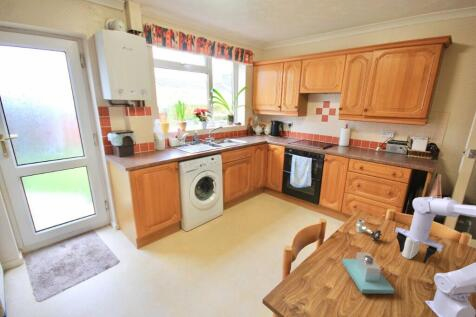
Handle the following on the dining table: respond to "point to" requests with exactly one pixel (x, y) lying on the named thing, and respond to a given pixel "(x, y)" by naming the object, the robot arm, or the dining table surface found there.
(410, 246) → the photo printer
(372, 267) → the housing
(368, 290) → the teal flat slab
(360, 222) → the valve
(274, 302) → the dining table surface
